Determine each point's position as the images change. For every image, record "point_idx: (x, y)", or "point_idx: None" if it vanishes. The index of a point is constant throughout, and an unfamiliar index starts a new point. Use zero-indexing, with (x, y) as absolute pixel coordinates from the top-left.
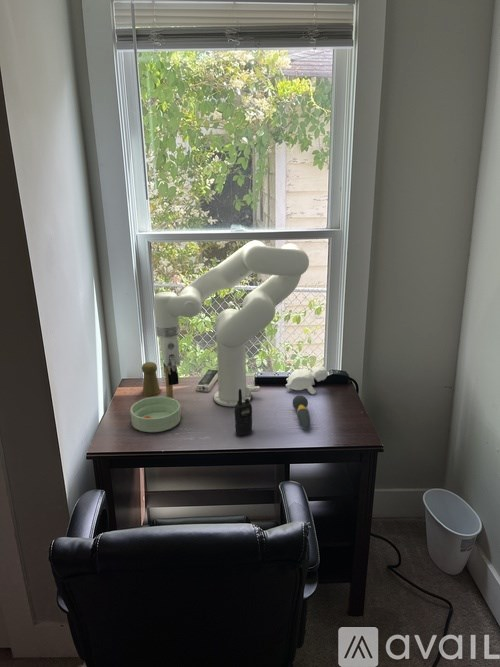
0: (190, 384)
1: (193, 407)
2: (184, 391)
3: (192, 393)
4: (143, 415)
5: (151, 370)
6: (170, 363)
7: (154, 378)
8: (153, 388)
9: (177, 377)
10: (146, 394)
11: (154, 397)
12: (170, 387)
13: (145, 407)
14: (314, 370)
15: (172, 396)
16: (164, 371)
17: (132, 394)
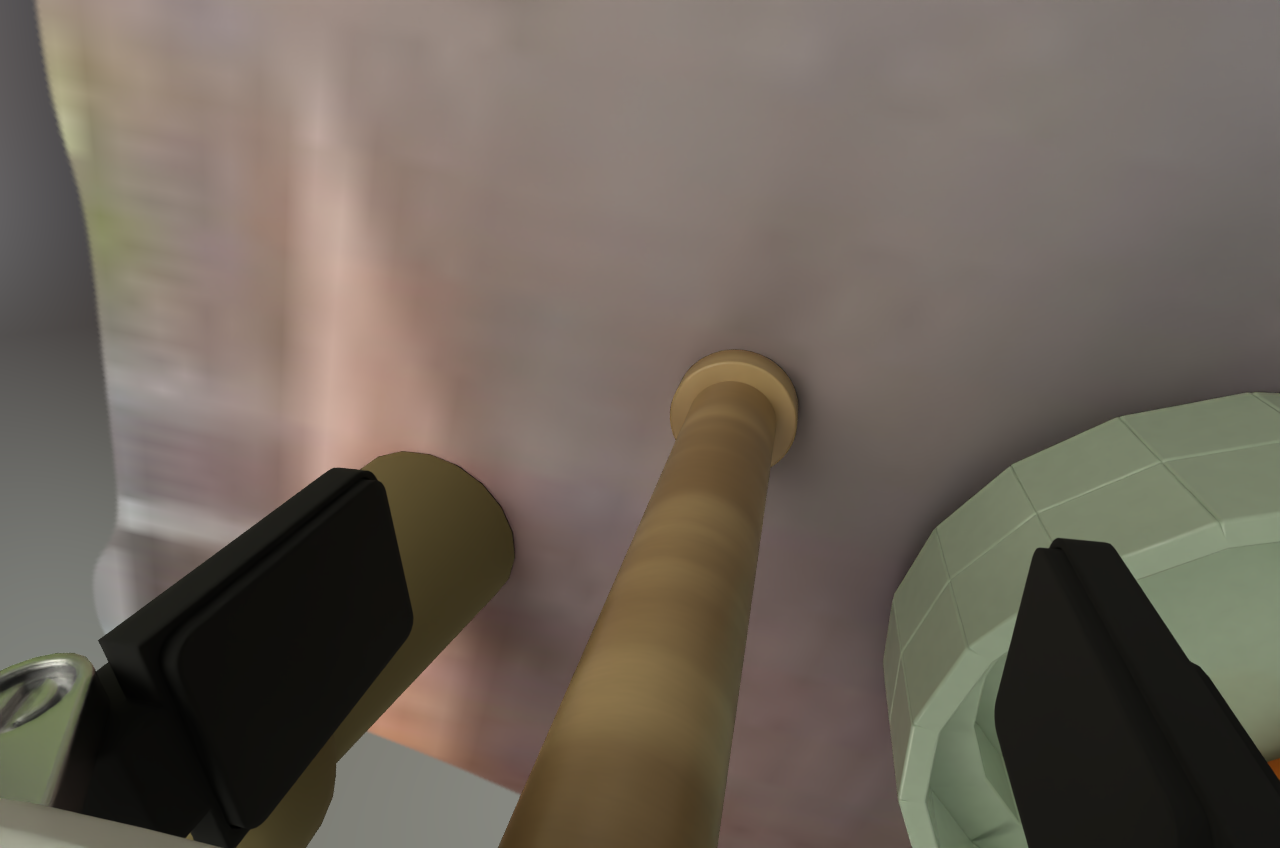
0: (262, 36)
1: (1054, 119)
2: (468, 166)
3: (554, 52)
4: (996, 742)
5: (300, 791)
6: (213, 695)
7: None
8: (464, 574)
9: (1199, 703)
10: (493, 596)
11: (934, 749)
12: (760, 526)
13: (977, 779)
14: None
15: (763, 421)
16: (379, 663)
17: (452, 680)
